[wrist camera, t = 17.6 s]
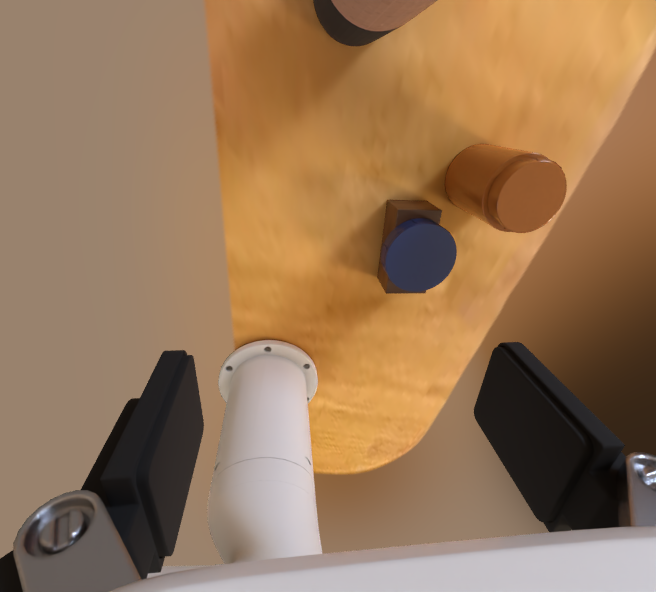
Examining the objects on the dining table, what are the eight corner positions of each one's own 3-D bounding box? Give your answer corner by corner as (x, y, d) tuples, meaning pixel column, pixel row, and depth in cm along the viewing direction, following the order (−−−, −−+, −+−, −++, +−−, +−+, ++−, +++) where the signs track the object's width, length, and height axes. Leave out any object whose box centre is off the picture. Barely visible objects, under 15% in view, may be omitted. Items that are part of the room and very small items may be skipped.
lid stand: (413, 277, 42) (425, 293, 38) (377, 277, 41) (385, 293, 38) (427, 200, 38) (441, 210, 34) (387, 199, 37) (397, 209, 34)
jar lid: (385, 217, 34) (390, 223, 32) (455, 218, 35) (464, 224, 33) (376, 283, 37) (381, 292, 36) (441, 283, 38) (448, 291, 36)
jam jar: (496, 210, 39) (555, 238, 31) (439, 208, 38) (483, 237, 30) (514, 145, 36) (584, 156, 28) (452, 142, 35) (505, 153, 27)
